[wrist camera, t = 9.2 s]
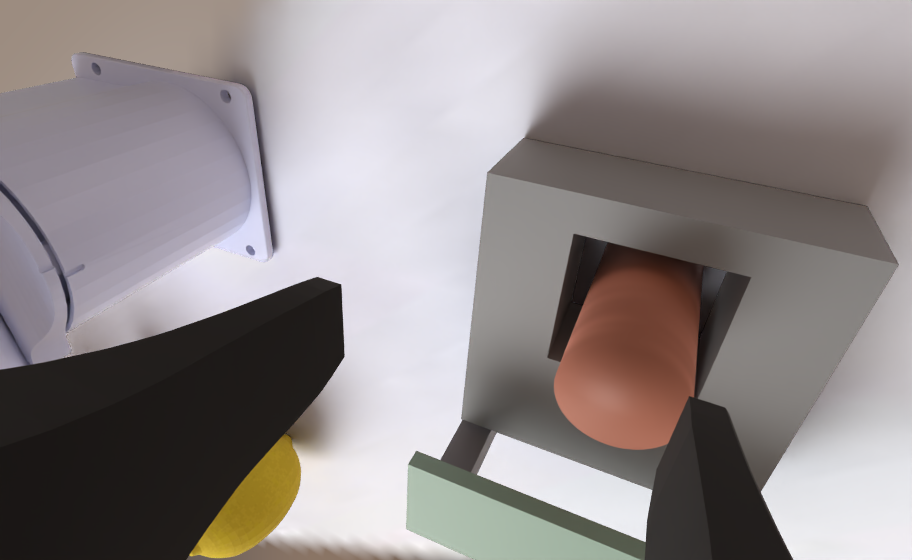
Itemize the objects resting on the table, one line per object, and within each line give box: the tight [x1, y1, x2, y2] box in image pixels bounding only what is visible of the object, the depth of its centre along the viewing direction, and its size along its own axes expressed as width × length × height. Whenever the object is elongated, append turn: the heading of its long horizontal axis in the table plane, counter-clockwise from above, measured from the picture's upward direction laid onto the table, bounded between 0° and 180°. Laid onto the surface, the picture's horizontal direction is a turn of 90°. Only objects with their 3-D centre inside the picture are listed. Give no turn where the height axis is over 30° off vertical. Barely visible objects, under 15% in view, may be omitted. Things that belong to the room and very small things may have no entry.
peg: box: [554, 242, 703, 450], centre depth 16 cm, size 3×3×7 cm
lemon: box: [189, 434, 301, 558], centre depth 30 cm, size 6×6×8 cm
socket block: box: [406, 138, 899, 560], centre depth 17 cm, size 11×12×7 cm
